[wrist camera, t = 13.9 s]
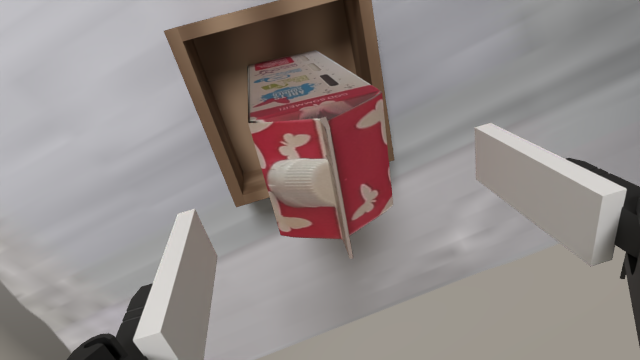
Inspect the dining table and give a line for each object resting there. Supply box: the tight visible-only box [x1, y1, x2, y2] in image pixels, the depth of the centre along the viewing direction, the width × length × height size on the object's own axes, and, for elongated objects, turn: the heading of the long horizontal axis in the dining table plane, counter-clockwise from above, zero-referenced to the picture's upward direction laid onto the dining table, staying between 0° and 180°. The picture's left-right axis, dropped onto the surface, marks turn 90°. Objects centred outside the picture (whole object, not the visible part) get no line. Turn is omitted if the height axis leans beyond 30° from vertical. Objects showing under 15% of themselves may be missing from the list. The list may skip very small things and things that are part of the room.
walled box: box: [164, 0, 394, 207], centre depth 33 cm, size 16×16×6 cm
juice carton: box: [247, 50, 393, 258], centre depth 25 cm, size 7×7×22 cm
